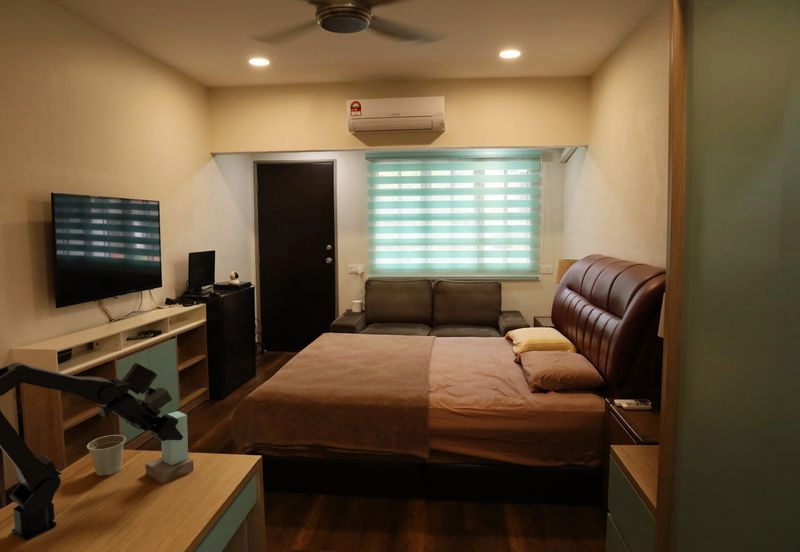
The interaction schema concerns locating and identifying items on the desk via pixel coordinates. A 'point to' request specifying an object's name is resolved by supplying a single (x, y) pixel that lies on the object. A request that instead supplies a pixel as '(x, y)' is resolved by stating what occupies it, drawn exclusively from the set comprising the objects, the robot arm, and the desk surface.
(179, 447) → the pillar
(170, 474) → the base slab
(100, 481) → the desk surface
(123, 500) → the desk surface
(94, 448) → the flower pot
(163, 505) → the desk surface
